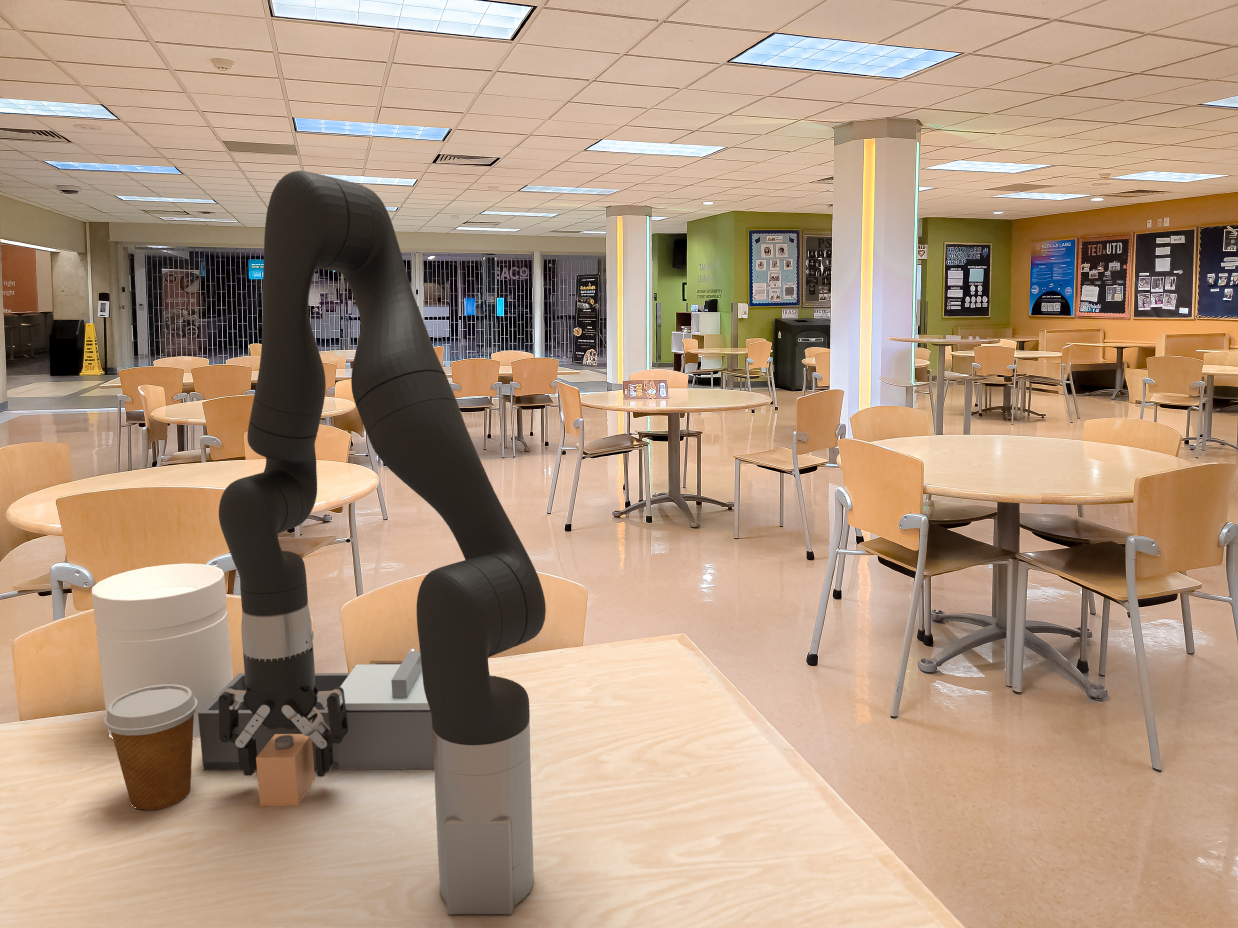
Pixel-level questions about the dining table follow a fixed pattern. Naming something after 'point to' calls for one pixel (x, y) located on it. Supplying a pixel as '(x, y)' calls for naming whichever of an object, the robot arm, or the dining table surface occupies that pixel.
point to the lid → (386, 686)
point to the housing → (366, 744)
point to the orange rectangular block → (285, 769)
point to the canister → (164, 631)
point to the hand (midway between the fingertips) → (287, 772)
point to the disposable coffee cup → (154, 743)
